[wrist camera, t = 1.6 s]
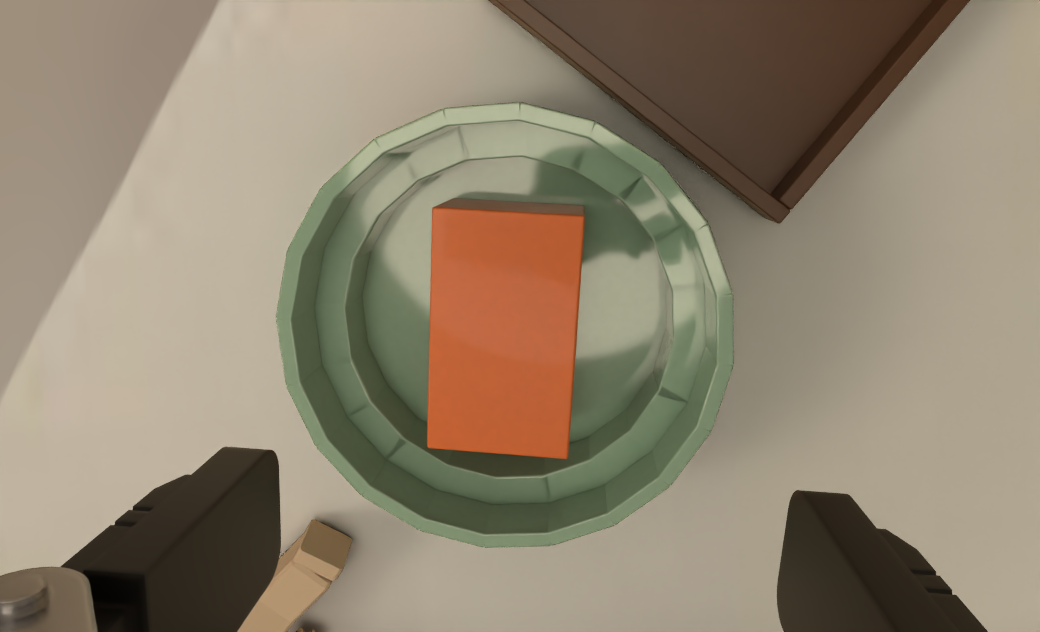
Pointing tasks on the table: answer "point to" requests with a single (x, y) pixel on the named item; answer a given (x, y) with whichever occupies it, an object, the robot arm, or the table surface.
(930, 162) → the table surface
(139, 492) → the table surface
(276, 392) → the table surface
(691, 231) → the bowl
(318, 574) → the toy figure
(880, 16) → the tray
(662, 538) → the table surface
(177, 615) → the robot arm
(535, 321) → the block
